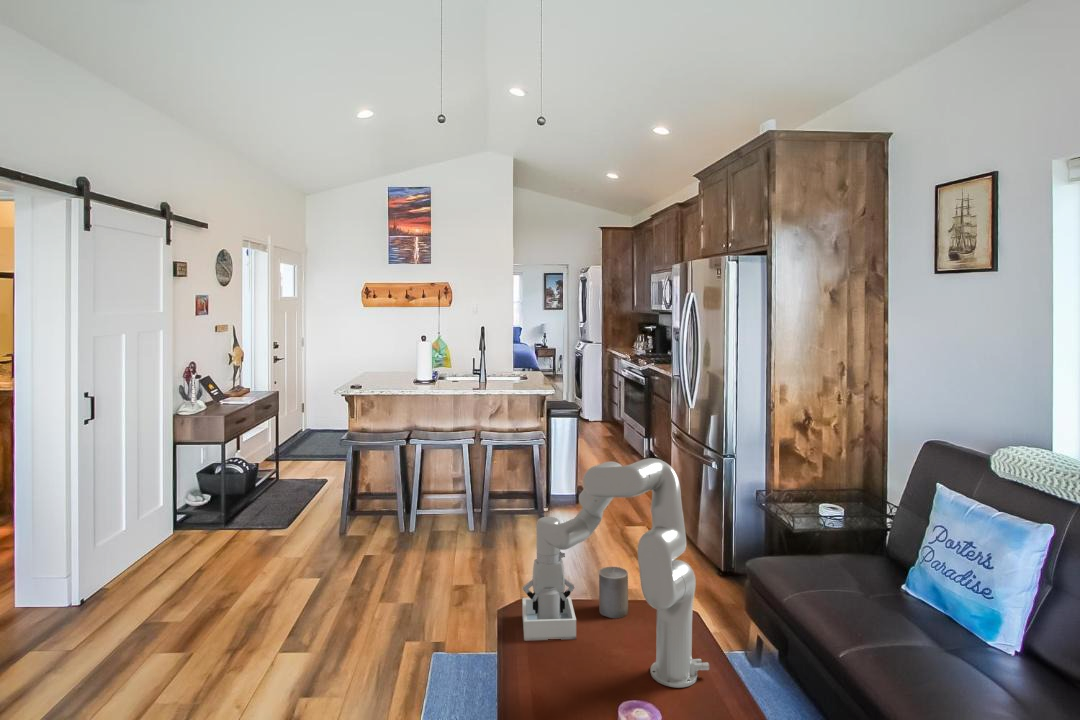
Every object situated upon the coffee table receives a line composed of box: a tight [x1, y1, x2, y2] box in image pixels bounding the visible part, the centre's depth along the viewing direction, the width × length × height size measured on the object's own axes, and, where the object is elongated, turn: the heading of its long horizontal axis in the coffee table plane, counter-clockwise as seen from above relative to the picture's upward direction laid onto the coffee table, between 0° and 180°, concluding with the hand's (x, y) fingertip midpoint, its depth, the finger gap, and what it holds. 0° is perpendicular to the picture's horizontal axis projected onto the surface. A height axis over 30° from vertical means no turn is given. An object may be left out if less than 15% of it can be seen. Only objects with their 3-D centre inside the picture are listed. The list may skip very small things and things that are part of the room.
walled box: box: [521, 596, 577, 642], centre depth 197 cm, size 16×16×6 cm
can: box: [537, 588, 561, 620], centre depth 196 cm, size 8×8×12 cm
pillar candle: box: [598, 566, 629, 619], centre depth 207 cm, size 10×10×15 cm
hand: (548, 611), depth 197 cm, fingers closed on can, 7 cm apart
